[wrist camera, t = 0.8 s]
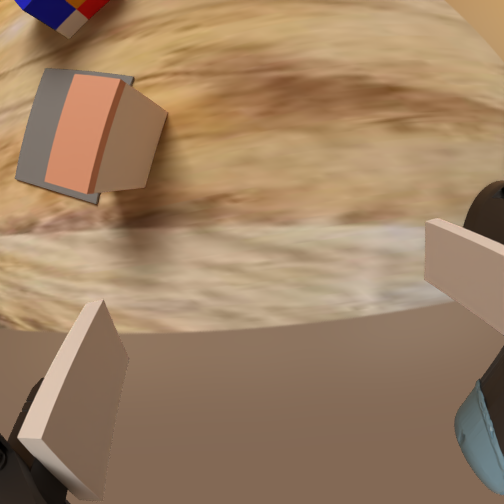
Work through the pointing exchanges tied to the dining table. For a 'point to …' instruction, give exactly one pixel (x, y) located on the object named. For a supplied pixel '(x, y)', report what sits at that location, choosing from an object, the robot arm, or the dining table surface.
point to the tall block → (104, 137)
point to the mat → (50, 128)
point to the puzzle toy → (62, 13)
